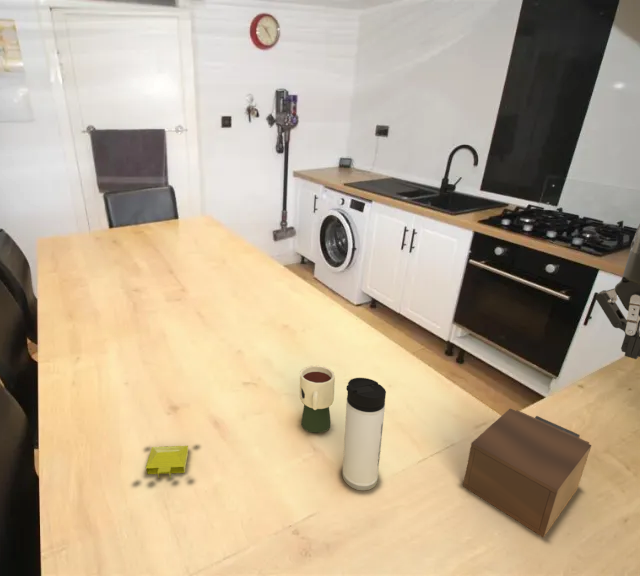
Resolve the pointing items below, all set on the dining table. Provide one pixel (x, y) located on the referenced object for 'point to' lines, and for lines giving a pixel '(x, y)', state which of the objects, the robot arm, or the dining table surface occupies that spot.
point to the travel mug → (363, 433)
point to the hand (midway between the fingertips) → (631, 355)
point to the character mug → (316, 397)
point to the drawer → (555, 426)
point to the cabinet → (526, 469)
